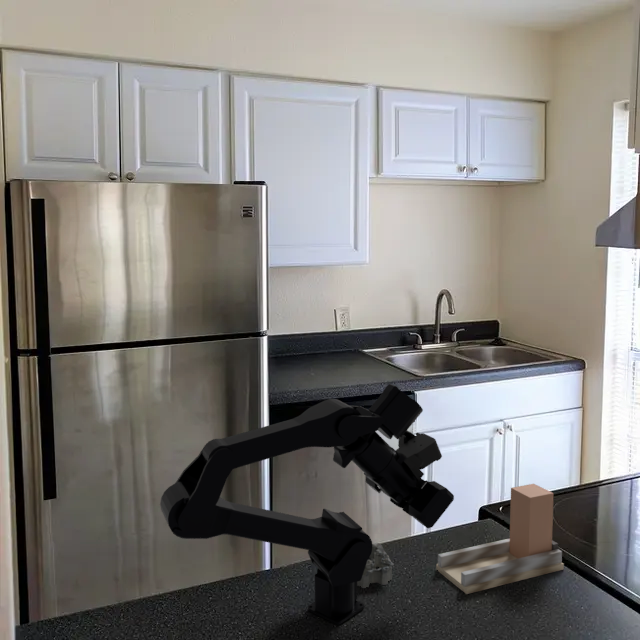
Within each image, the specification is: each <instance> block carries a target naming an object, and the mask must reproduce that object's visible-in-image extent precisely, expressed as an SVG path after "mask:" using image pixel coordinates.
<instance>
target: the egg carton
mask: <svg viewBox="0 0 640 640" xmlns="http://www.w3.org/2000/svg"><path fill="white" fill-rule="evenodd" d="M372 547H373V548H372V553H371V555H370V557H369V559H368V560H367V563H366V566H365V570H364V573H363V576H362V579H361V581H357V587H360V586H361V588H362V589H367V588H366V587H368V588H369V586H370V585H371V584H379V585H381V586H386V585H388V584H389V582H391V581H393V568H392V566H394V565H395V563H393V562H392V561H391V559H390V556H389V555H388V554H387V552H386V551H385V549H384V547H383V545H382V544H381V543H377V542H374V543H372ZM378 567H379V568H378ZM390 580H391V581H390ZM388 581H389V582H388ZM370 583H371V584H370ZM358 585H359V586H358Z"/></svg>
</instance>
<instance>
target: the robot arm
mask: <svg viewBox="0 0 640 640" xmlns="http://www.w3.org/2000/svg"><path fill="white" fill-rule="evenodd" d="M423 411H424V409H423V407H422V406H421V405H420V404H419V403H418V402H417V400H415V399H413V398H412V397H410V396H409V395H408V394H406V393H405V392H404V391H402V390H400V388H399V387H397V385H393V384H391V383H388V384H387V386H386V387H385V388H384V389H383V391H382V392H381V394H380V396H379V397H378V398H377V399H376V400H375V401H374V403H372V405H371V406H370V407H369V409H367V408H366V407H365V408H364V407H363V406H361V405H349V404H347V403H346V402H343V401H341V400H339V399H337V398H328V399H325V400H323V401H321V402H318V403H316V404H314V405H312V406H310V407H309V408H307V409H305V410H304V411H303V412H302V413H300V415H298V416H296V417H293V418H291V419H287V420H284V421H280V422H277V423H273V424H269V425H266V426H262V427H259V428H258V427H257V428H256V429H255V428H254V429H252V430H247V431H245V432H241V433H238V434H234V435H231V436H227V437H223V438H213V439H211V440H209V441H208V442H207V443H206V444H204V446H203V448H202V449H201V450H200V452H199V453H198V455H197V456H196V457H195V458H194V459H193V461H192V462H190V463H189V464H188V465H187V466H186V468H184V469H183V471H182V472H181V474H180V475H179V477H178V478H177V480H176V482H174V483H173V484H172V485H170V486H168V487H167V488H166V489H165V491H164V492H163V494H162V495H161V498H160V504H159V505H160V510H161V513H162V515H163V517H164V519H165V521H166V523H167V525H168V527H169V529H170V531H171V532H172V533H173V535H175V536H176V537H177V538H178V537H179V538H180V539H184V540H186V539H188V540H189V539H191V540H208V539H212V538H216V537H220V536H223V535H224V536H225V535H228V536H233V537H238V538H244V539H248V540H254V541H259V542H264V543H269V544H275V545H279V546H280V545H281V546H284V547H285V546H286V547H291V548H295V549H301V550H307V554H308V557H309V559H310V561H311V563H312V564H314V566H315V567H316V568H317V570H316V574H314V576H313V577H314V601H313V602H312V603H310V604H309V605H307V608H306V609H307V611H309V612H310V613H313V614H314V615H316V616H318V617H321V618H322V619H325V621H326V620H327V621H328V622H331V623H332V624H335V625H341V624H343V623H344V622H345V621H347V620H348V619H350V618H352V617H353V616H355V615H356V614H358V613H359V612H361V611H362V610H364V608H365V604H364V603H363V602H360V601H359V600H357V599H358V586H357V581H361V579H362V576H363V573H364V570H365V566H366V563H367V560H370V558H369V557H370V555H371V553H372V548H373V547H372V544H373V541H372V538H371V536H370V535H369V534H367V533H366V532H365V531H364V530H363V528H362V527H361V525H360V524H358V523H357V522H356V521H355V520H354V519H352V517H350V516H349V515H348V514H347V513H345V512H344V511H340V512H334V511H332V510H330V509H327V508H323V509H322V513H321V516H319V517H316V518H307V517H303V516H297V515H293V514H288V513H283V512H278V511H274V510H271V509H270V510H269V509H265V508H259V507H257V506H256V507H255V506H249V505H246V504H243V503H242V504H241V503H237V502H232V501H228V500H226V499H224V498H222V497H221V494H222V492H223V489H224V487H225V485H226V482H227V478H228V477H229V475H230V474H231V473H232V471H233V470H235V469H238V468H242V467H244V466H248V465H251V464H255V463H258V462H261V461H265V460H267V459H268V460H269V459H271V458H274V457H278V456H282V455H284V454H289V453H292V452H295V451H298V450H302V449H304V448H333V449H334V453H333V458H332V461H333V462H334V463H335V464H337V465H338V466H340V468H342V469H345V468H347V467H348V465H350V463H351V462H353V464H355V466H356V467H358V468H359V469H360V470H361V471H362V472H363V476H365V484H367V485H368V486H369V487H370V488H372V490H374V491H375V492H376V493H378V494H380V493H381V492H382V493H383V494H385V495H386V496H387V497H389V501H390V502H391V503H392V504H393V505H395V506H396V507H398V508H399V509H402V511H403V512H404V513H406V514H407V515H409V516H411V517H412V518H413V519H414V520H416V521H417V522H418V523H420V525H422V526H424V527H425V528H427V529H431V528H433V527H434V526H435V524H436V523H437V522H438V521H439V519H440V518H441V517H442V516H443V515H444V513H445V512H446V511H447V509H448V508H449V506H451V504H452V503H453V501H455V495H454V494H453V493H452V492H451V491H450V490H449V489H448V488H447V487H446V486H444V485H442V484H440V483H439V482H437V481H434V480H432V481H431V480H430V481H429V480H427V479H426V480H424V479H423V476H424V475H425V473H424V472H423V471H422V470H423V469H426V468H427V467H428V466H431V464H433V463H434V462H436V461H437V462H438V461H440V460H441V459H442V457H443V455H442V453H441V449H440V448H439V445H438V442H437V440H436V438H435V437H432V436H431V435H428V434H425V433H423V432H422V433H419V432H415V434H414V433H413V432H411V431H409V428H410V427H411V426H412V425H413V424H414V422H415V421H416V420H417V419H418V418H419V416H420V415H421V414H422V413H423ZM377 431H378V432H379V433H380V434H381V435H382V436H384V437H385V438H387V439H388V440H392V438H393V437H394V438H395V439H396V440H398V444H397V445H398V448H397V449H394V447H392V446H391V445H390V444H388V442H387V441H385V440H384V438H383V437H382V436H381V435H380V434H379V433H378V432H377Z"/></svg>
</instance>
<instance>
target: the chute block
mask: <svg viewBox="0 0 640 640" xmlns="http://www.w3.org/2000/svg"><path fill="white" fill-rule="evenodd" d="M509 508H510V510H509V512H510V513H509V515H510V517H509V520H510V521H509V538H510V549H509V553H510V554H512V555H513V556H515V557H516V558H518V559H519V558H523V557H527V556H531V555H535V554H539V553H544V552H548V551H552V540H553V527H554V526H553V522H554V520H553V518H554V492H552V491H550V490H548V489H546V488H544V487H541V486H540V485H537V484H535V483H529V484H524V485H520V486H518V485H517V486H515V487H514V486H513V487H510V507H509Z"/></svg>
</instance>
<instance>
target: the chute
mask: <svg viewBox="0 0 640 640" xmlns="http://www.w3.org/2000/svg"><path fill="white" fill-rule="evenodd" d="M509 549H510V537H509V538H506V539H501V540H497V541H493V542H487V543H482V544H479V545H474V546H470V547H465V548H460V549H456V550H451V551H447V552H443V553H438V554H437V563H436V564H435V565H436V569H435V570H436V571H437V570H438V571H437V572H439V573H440V574H441V575H442V576H444V578H446V579H447V580H448V581H449V582H450V583H452V584H453V585H454V586H456V587H457V588H458V589H460V591H462V592H464V594H465V595H468V594H472V593H477V592H481V591H484V590H488V589H493V588H496V587H499V586H502V585H503V586H504V585H508V584H511V583H515V582H519V581H523V580H528V579H530V578H535V577H540V576H543V575H547V574H551V573H554V572H559V571H562V570H564V569H565V568H564V565H565V563H563V562H562V561H563V558H562V557H563V550H560V549H559V543H558V542H556V541H554V540H553V539H552V551H548V552H544V553H539V554H535V555H531V556H527V557H523V558H519V559H518V558H516V557H515V556H513V555H512V554H510V553H509Z"/></svg>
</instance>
